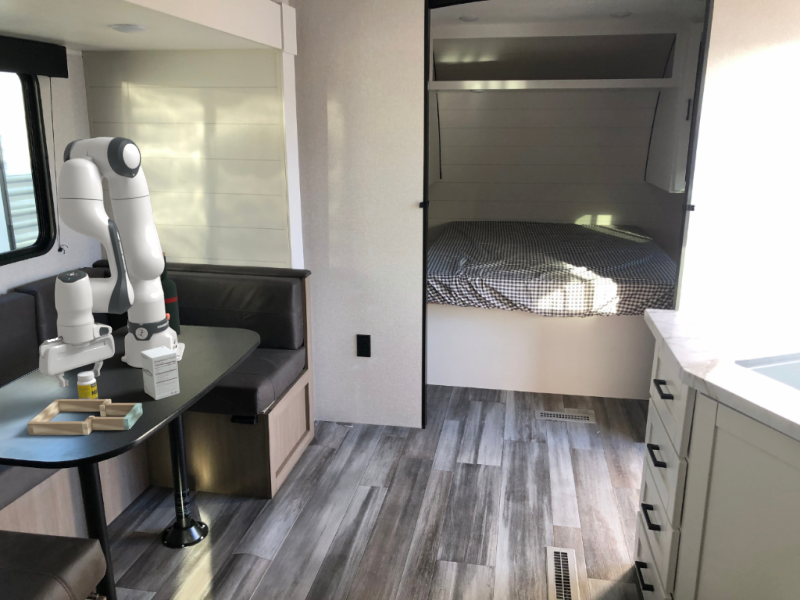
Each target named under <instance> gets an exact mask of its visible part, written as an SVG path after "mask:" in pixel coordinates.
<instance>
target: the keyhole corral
mask: <svg viewBox="0 0 800 600" xmlns="http://www.w3.org/2000/svg"><path fill="white" fill-rule="evenodd" d="M61 412H100V413H99V414H100V416H95V415H89V416H88V417H87V418H86V419H85V420H84V421H83V420H82V421H69V420H68V421H65V420H62V421H55V420H54V421H53V420H52V419H54V418H55V416H58V414H59V413H61ZM142 415H143V403H142V402H112V399H111V398H104V399H103V398H101V399H100V398H98V399H79V398H73V399H72V398H61V399H60V398H56V399H54V400H53V401H51V403H50V404H49V405H47V407H45V408H44V409H43V410H42V411H40V413H38V414H37V415H36V416H35V417H34V418H32V419H31V420H29V422H27V430H28V436H41V435H42V436H51V435H52V436H62V435H64V436H65V435H66V436H75V435H76V436H77V435H81V436H82V435H84V436H89V435H90V434H91V432H92V431H130V430H131V428H132V427H133V426H134V425H135V424H136V422H137V421H138V420H139V419H140V418H141V416H142ZM129 429H130V430H129Z"/></svg>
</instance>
